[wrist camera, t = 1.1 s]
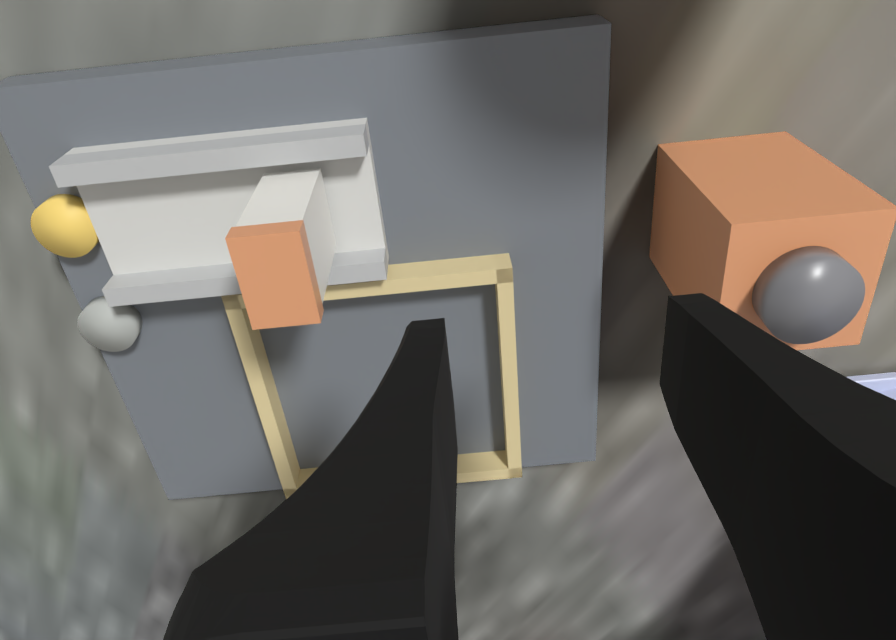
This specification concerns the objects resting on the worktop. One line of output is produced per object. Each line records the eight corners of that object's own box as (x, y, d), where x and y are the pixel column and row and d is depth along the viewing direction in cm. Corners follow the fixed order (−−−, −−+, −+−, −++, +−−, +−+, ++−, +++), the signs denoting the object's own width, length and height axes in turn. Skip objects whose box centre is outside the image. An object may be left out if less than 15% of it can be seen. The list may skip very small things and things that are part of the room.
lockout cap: (764, 245, 23) (876, 361, 18) (648, 256, 23) (722, 376, 18) (785, 131, 21) (919, 222, 16) (658, 144, 21) (745, 239, 16)
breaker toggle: (338, 246, 20) (321, 323, 17) (281, 252, 20) (252, 329, 17) (322, 166, 19) (299, 230, 15) (261, 172, 19) (224, 238, 15)
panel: (587, 434, 28) (604, 489, 25) (179, 472, 28) (156, 529, 26) (598, 14, 19) (625, 33, 17) (9, 76, 19) (-51, 105, 17)
